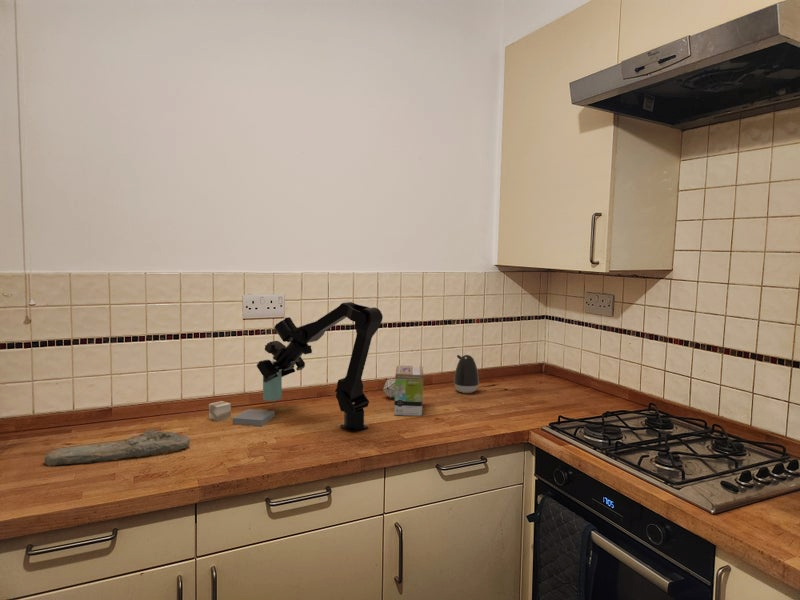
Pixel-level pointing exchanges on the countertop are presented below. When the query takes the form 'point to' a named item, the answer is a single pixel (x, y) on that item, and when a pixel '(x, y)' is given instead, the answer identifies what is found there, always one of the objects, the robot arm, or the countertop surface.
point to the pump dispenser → (466, 375)
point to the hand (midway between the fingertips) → (269, 379)
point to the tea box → (408, 390)
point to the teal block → (273, 388)
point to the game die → (389, 388)
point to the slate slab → (253, 417)
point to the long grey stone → (119, 448)
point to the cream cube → (219, 411)
